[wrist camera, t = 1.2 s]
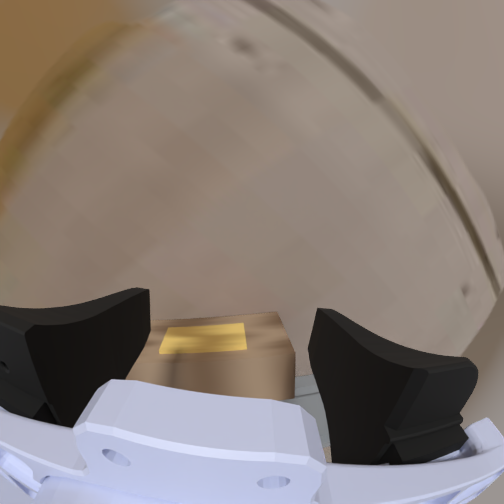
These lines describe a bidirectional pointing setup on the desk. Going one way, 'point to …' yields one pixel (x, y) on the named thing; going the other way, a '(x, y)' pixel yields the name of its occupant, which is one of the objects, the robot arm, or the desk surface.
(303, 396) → the tray
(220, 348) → the lamp housing
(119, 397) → the robot arm
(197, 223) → the desk surface
